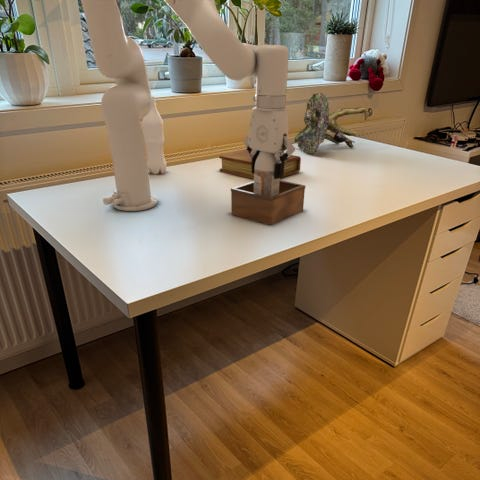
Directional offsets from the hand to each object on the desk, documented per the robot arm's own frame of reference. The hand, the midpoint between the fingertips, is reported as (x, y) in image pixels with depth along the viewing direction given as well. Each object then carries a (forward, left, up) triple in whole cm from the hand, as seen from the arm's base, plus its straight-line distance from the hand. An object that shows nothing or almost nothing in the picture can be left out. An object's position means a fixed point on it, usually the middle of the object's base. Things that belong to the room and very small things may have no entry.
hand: (267, 174), depth 122 cm
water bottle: (+9, +58, -11) cm, 59 cm away
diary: (+34, +30, -11) cm, 46 cm away
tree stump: (+85, +34, -11) cm, 92 cm away
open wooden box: (0, 0, -10) cm, 10 cm away
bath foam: (0, 0, -10) cm, 10 cm away
